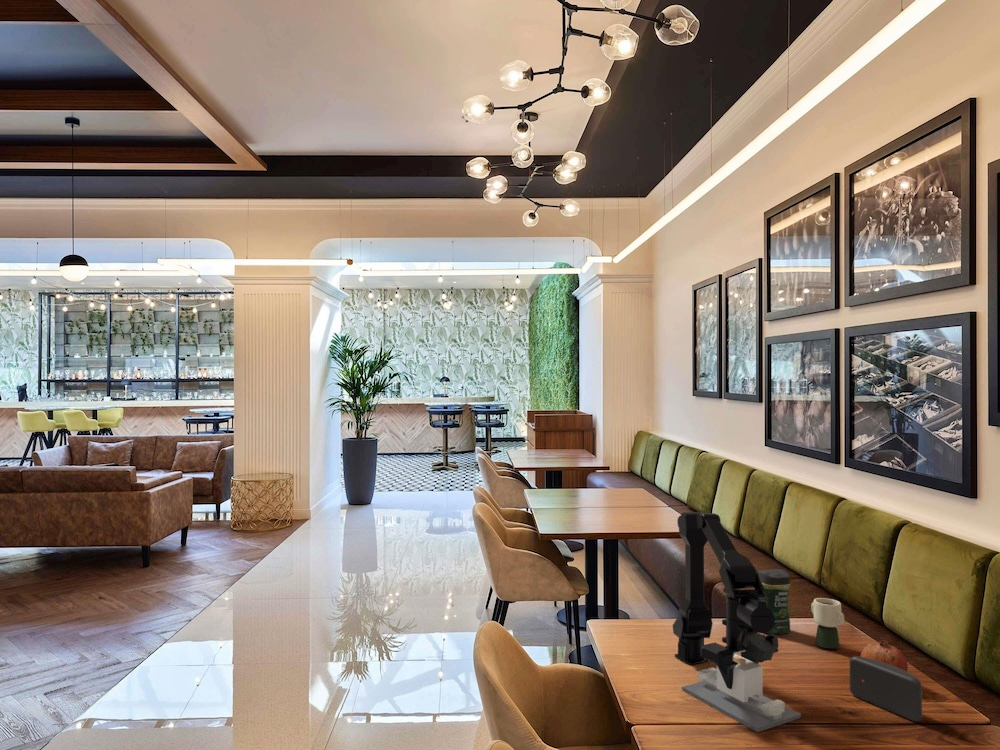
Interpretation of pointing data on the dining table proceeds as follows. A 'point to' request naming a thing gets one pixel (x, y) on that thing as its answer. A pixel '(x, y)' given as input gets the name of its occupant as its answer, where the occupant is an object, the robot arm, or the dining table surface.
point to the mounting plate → (738, 708)
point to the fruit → (885, 654)
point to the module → (743, 680)
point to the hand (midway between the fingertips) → (738, 685)
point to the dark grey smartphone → (886, 687)
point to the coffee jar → (777, 597)
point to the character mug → (827, 621)
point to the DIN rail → (767, 709)
